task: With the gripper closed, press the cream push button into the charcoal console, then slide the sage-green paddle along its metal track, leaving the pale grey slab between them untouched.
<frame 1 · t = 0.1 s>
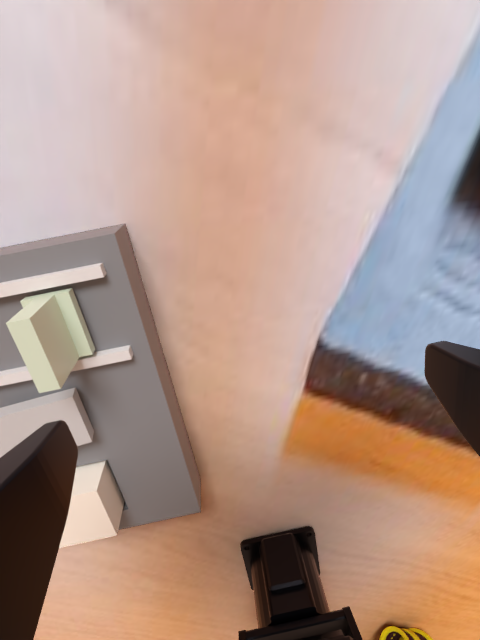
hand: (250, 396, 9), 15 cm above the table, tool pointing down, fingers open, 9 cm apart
slide paddle: (49, 339, 18), point 5 cm above the table, slide at 0.0 cm
pale grey slab: (40, 427, 21), point 4 cm above the table, hinge at 8.0°
push button: (80, 503, 24), point 4 cm above the table, slide at 0.0 cm
console: (66, 393, 25), on the table
opera glasses: (379, 637, 42), on the table
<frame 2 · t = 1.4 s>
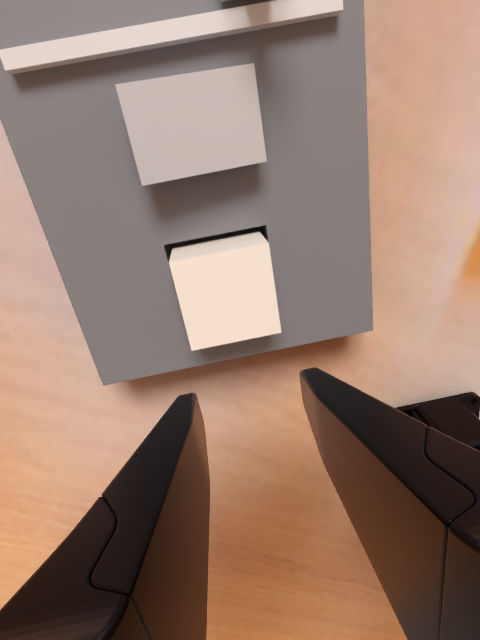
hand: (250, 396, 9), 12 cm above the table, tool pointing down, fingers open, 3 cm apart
pale grey slab: (194, 127, 14), point 4 cm above the table, hinge at 8.0°
push button: (226, 289, 17), point 4 cm above the table, slide at 0.0 cm
console: (196, 145, 18), on the table
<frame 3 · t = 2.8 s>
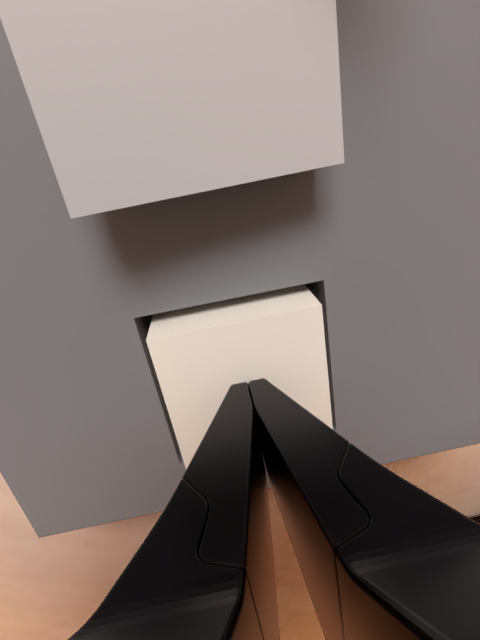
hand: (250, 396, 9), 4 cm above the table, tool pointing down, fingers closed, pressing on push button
pale grey slab: (190, 86, 6), point 4 cm above the table, hinge at 8.0°
push button: (242, 368, 10), point 2 cm above the table, slide at 1.4 cm, touching gripper
console: (195, 134, 10), on the table
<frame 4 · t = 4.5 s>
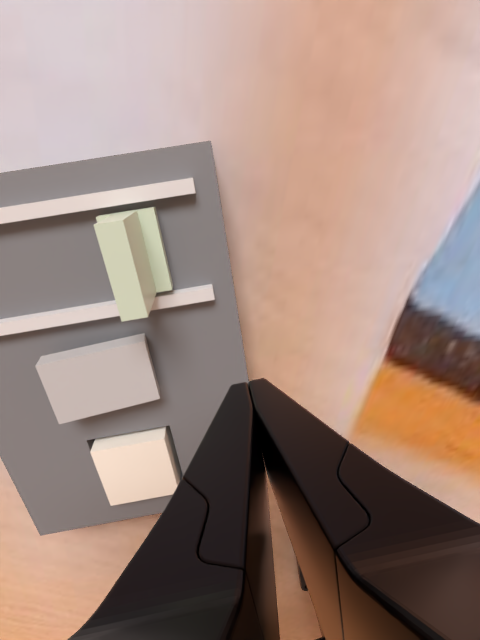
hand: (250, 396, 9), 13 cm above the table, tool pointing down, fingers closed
slide paddle: (130, 261, 15), point 5 cm above the table, slide at 0.0 cm
pale grey slab: (102, 378, 18), point 4 cm above the table, hinge at 8.0°
push button: (140, 456, 22), point 2 cm above the table, slide at 1.4 cm
console: (120, 349, 22), on the table
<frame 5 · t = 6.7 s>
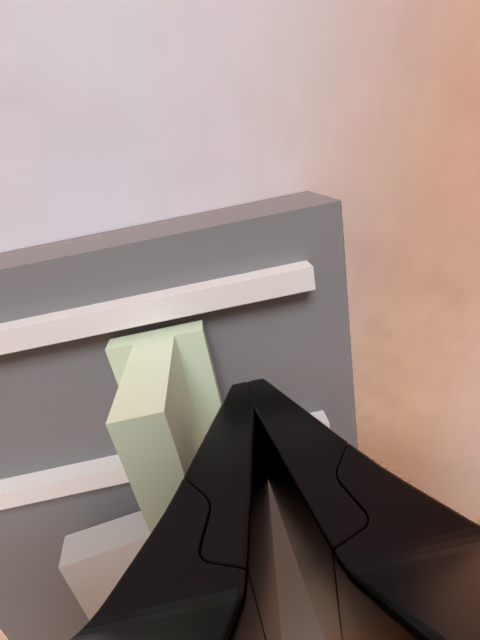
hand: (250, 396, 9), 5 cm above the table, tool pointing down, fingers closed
slide paddle: (169, 430, 9), point 5 cm above the table, slide at 1.1 cm, touching gripper
pale grey slab: (158, 557, 12), point 4 cm above the table, hinge at 8.0°
console: (170, 470, 16), on the table
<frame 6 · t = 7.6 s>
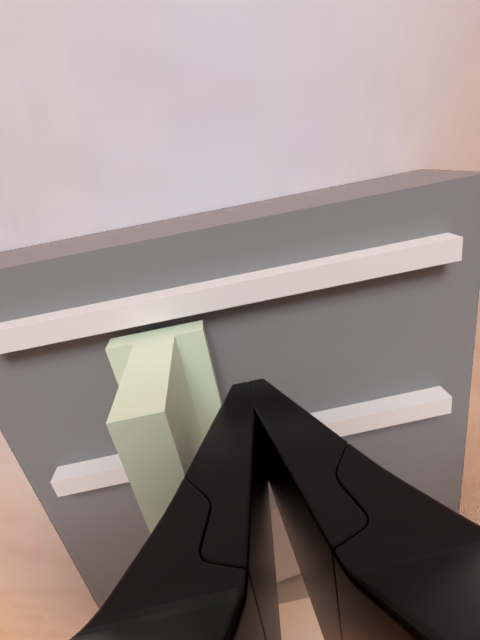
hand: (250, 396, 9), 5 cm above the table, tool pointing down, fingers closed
slide paddle: (169, 430, 9), point 5 cm above the table, slide at 4.9 cm, touching gripper
pale grey slab: (274, 532, 12), point 4 cm above the table, hinge at 8.0°
push button: (286, 597, 16), point 2 cm above the table, slide at 1.4 cm
console: (256, 452, 16), on the table
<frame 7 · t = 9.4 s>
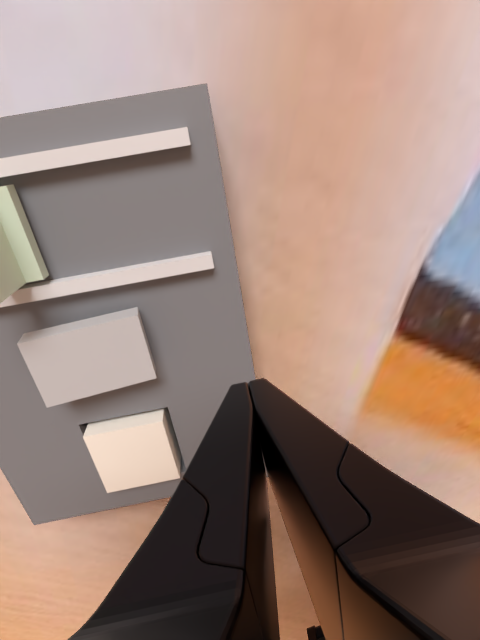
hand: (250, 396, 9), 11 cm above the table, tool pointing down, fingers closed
pale grey slab: (92, 356, 16), point 4 cm above the table, hinge at 8.0°
push button: (137, 441, 21), point 2 cm above the table, slide at 1.4 cm
console: (113, 326, 20), on the table
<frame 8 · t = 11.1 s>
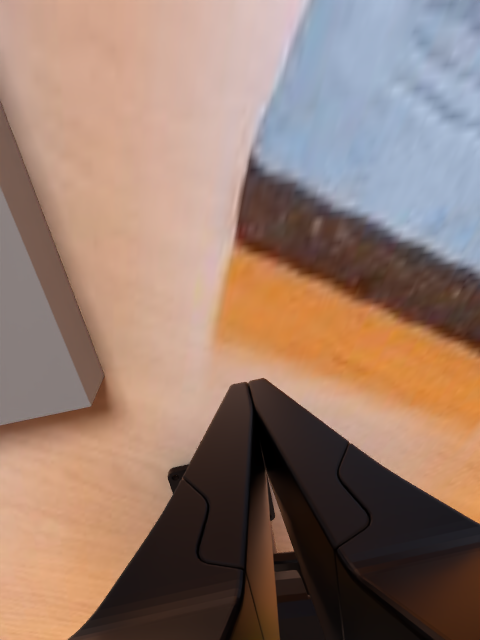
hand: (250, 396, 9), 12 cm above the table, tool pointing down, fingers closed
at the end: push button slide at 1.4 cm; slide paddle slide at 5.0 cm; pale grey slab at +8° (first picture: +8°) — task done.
